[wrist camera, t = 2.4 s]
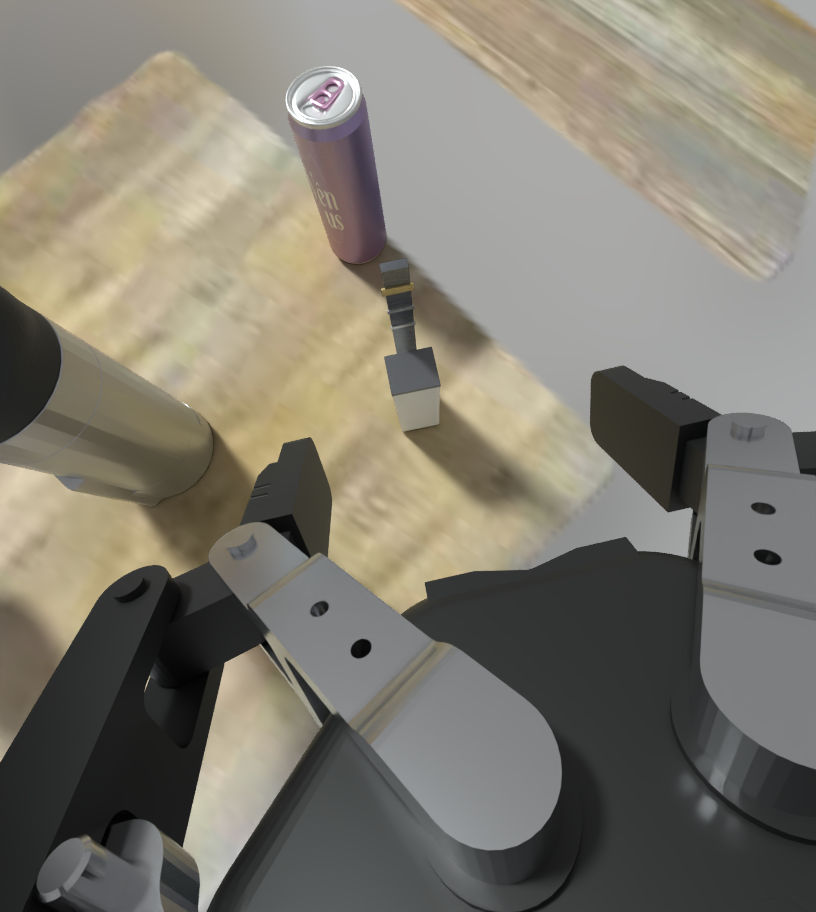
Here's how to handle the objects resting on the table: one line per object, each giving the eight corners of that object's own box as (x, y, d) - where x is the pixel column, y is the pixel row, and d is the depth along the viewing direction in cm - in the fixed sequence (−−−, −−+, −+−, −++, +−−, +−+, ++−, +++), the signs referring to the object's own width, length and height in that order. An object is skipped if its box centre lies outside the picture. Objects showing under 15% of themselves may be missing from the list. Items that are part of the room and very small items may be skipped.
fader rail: (428, 389, 41) (422, 274, 25) (397, 395, 41) (371, 285, 25) (424, 370, 42) (415, 245, 25) (393, 376, 42) (365, 256, 25)
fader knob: (439, 424, 40) (440, 384, 31) (401, 432, 40) (391, 394, 31) (432, 394, 41) (431, 346, 32) (395, 401, 41) (384, 356, 32)
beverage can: (398, 235, 46) (380, 82, 31) (365, 277, 45) (330, 139, 30) (353, 211, 47) (315, 52, 32) (320, 251, 46) (266, 106, 31)
